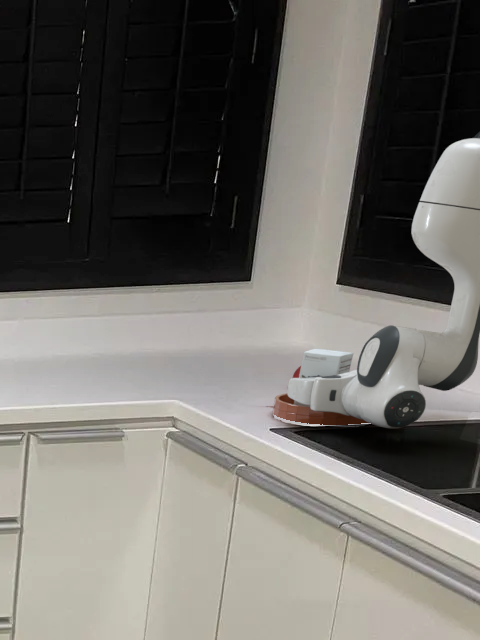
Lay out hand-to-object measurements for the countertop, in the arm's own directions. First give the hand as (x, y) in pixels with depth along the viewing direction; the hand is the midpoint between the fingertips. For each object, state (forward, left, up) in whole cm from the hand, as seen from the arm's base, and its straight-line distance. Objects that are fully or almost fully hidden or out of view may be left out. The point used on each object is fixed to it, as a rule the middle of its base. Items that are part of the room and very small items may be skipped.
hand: (326, 381), depth 238 cm
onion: (+8, -26, -8) cm, 29 cm away
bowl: (0, +1, -8) cm, 8 cm away
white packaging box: (+1, -1, -7) cm, 7 cm away
